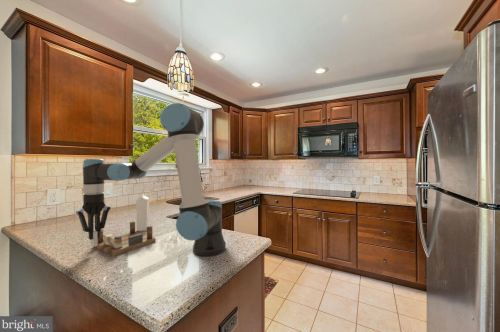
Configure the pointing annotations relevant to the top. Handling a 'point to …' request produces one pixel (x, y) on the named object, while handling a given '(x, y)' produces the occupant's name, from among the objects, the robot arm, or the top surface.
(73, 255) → the top surface
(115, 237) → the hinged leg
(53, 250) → the top surface
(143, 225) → the milk
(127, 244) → the wooden peg board
